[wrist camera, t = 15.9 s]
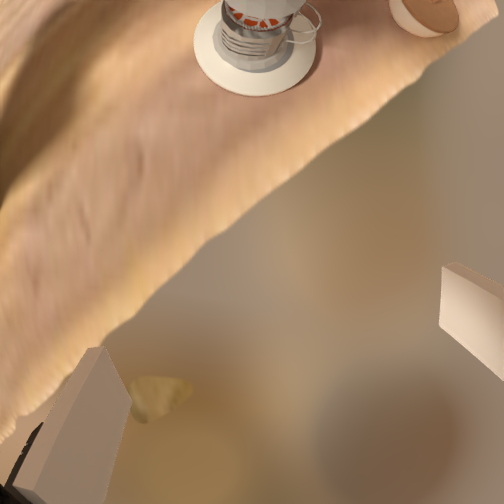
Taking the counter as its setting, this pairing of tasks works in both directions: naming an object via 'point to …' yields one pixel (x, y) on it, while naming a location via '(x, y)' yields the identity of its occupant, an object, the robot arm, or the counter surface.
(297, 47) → the disc
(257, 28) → the french press
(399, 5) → the lidded jar
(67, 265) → the counter surface
